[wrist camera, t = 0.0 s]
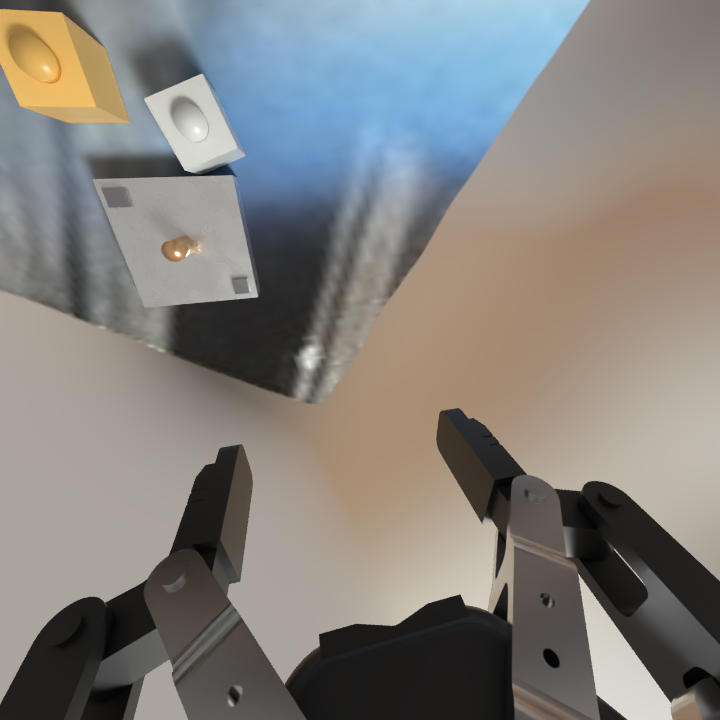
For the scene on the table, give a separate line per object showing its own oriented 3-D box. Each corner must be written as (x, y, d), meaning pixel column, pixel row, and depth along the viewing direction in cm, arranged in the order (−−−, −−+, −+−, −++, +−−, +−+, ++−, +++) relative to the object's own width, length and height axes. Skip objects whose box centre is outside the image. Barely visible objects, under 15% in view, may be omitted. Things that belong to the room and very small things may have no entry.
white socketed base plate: (110, 181, 29) (62, 175, 23) (237, 177, 31) (224, 171, 25) (155, 299, 35) (127, 320, 29) (260, 290, 37) (254, 307, 31)
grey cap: (168, 116, 28) (138, 95, 22) (217, 95, 28) (199, 69, 22) (201, 175, 30) (181, 169, 25) (246, 155, 30) (236, 146, 25)
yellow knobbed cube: (37, 45, 24) (-38, 0, 18) (105, 48, 25) (53, 5, 19) (68, 123, 26) (11, 103, 21) (130, 123, 27) (90, 103, 22)
